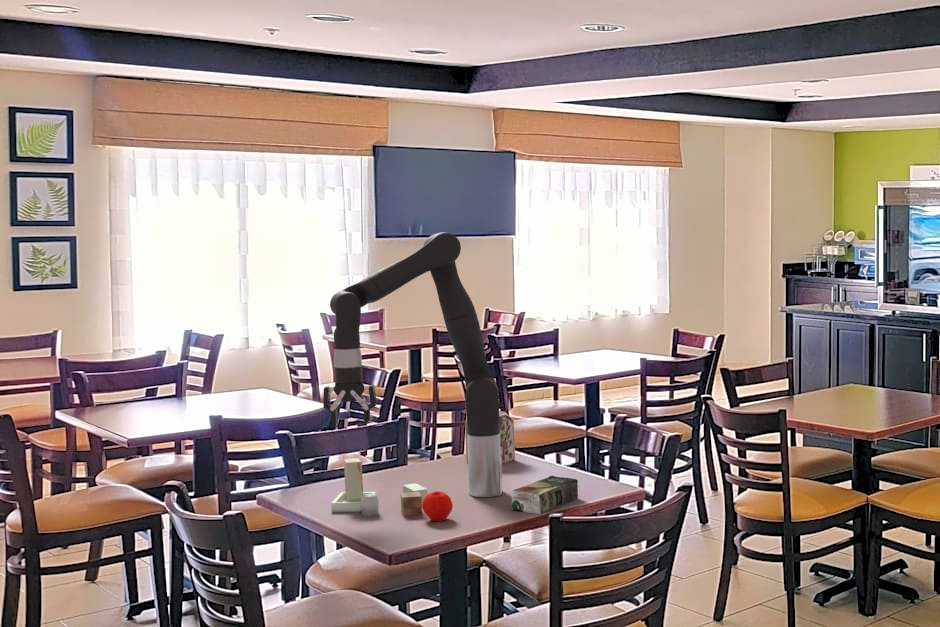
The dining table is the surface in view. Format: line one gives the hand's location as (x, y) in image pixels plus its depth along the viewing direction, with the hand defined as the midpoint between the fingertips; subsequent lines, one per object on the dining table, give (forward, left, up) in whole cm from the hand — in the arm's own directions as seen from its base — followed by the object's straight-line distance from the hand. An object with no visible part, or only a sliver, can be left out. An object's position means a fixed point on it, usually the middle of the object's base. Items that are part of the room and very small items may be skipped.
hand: (351, 423), depth 288 cm
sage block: (-16, -6, -23) cm, 29 cm away
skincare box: (0, 0, -23) cm, 23 cm away
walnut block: (-17, +7, -23) cm, 29 cm away
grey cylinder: (-6, +8, -23) cm, 25 cm away
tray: (0, 0, -23) cm, 23 cm away
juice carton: (-52, -1, -24) cm, 57 cm away
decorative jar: (-33, -55, -23) cm, 68 cm away
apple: (-25, +14, -23) cm, 37 cm away
